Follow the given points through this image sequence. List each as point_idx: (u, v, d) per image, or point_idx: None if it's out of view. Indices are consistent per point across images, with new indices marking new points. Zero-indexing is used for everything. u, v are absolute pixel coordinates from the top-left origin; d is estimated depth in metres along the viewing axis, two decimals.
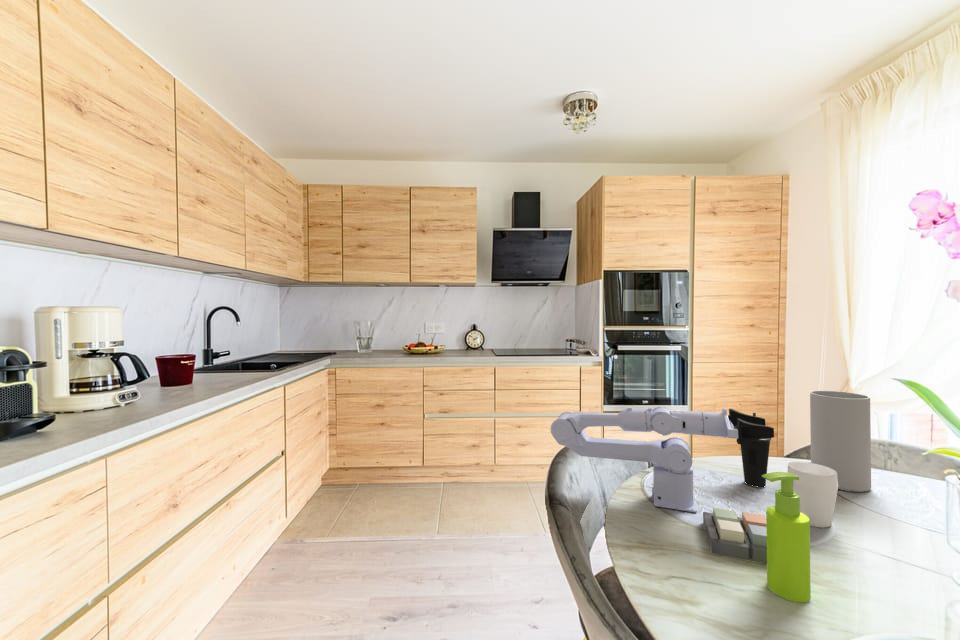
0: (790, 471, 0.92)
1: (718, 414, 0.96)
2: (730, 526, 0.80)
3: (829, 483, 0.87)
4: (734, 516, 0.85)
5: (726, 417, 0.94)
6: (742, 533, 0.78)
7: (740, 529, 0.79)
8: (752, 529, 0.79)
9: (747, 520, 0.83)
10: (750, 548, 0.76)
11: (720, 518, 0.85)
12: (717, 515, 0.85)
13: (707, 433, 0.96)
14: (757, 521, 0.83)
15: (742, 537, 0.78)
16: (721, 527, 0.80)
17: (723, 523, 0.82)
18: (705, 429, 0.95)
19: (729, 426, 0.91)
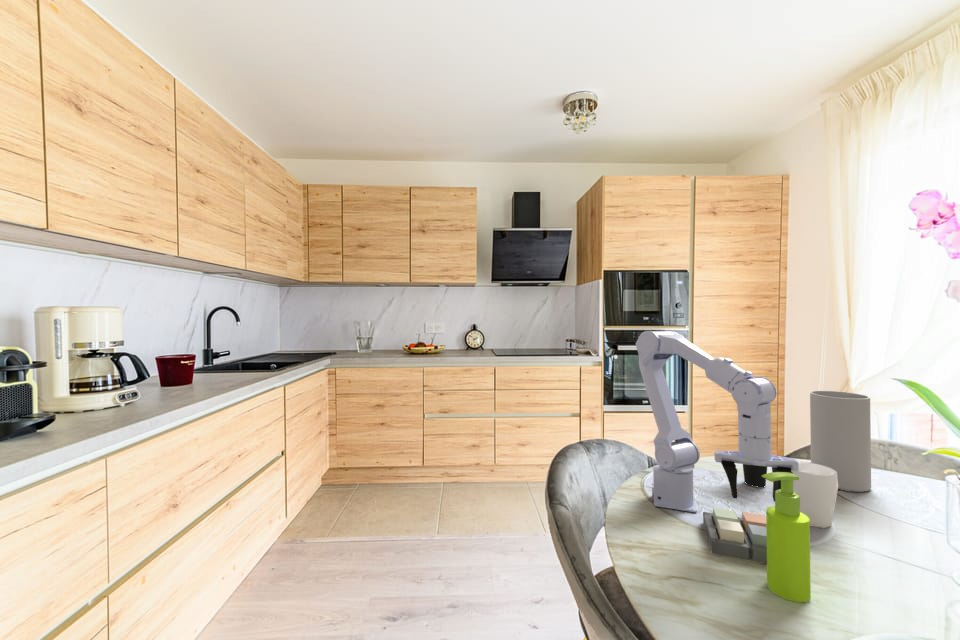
0: None
1: (752, 454, 0.82)
2: (730, 526, 0.80)
3: (829, 483, 0.87)
4: (734, 516, 0.85)
5: (744, 460, 0.83)
6: (742, 533, 0.78)
7: (740, 529, 0.79)
8: (752, 529, 0.79)
9: (747, 520, 0.83)
10: (750, 548, 0.76)
11: (720, 518, 0.85)
12: (717, 515, 0.85)
13: None
14: (757, 521, 0.83)
15: (742, 537, 0.78)
16: (721, 527, 0.80)
17: (723, 523, 0.82)
18: (738, 434, 0.86)
19: (724, 456, 0.85)
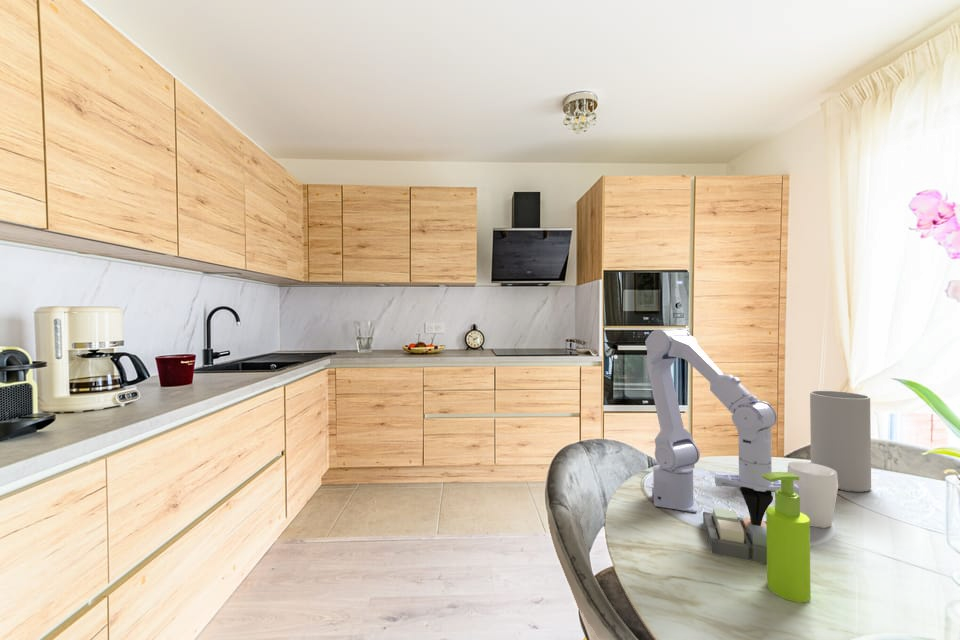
0: (790, 471, 0.92)
1: (753, 479, 0.82)
2: (730, 526, 0.80)
3: (829, 483, 0.87)
4: (734, 516, 0.85)
5: (744, 485, 0.83)
6: (742, 533, 0.78)
7: (740, 529, 0.79)
8: (752, 529, 0.79)
9: (747, 526, 0.83)
10: (750, 548, 0.76)
11: (720, 518, 0.85)
12: (717, 515, 0.85)
13: None
14: None
15: (742, 537, 0.78)
16: (721, 527, 0.80)
17: (723, 523, 0.82)
18: None
19: (725, 481, 0.85)
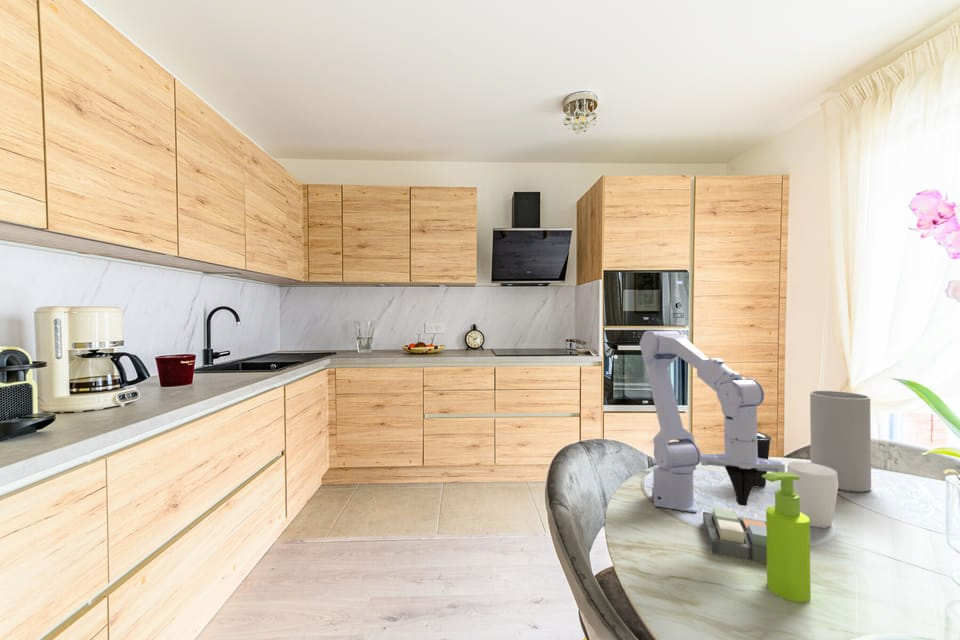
0: (790, 471, 0.92)
1: (738, 457, 0.80)
2: (730, 526, 0.80)
3: (829, 483, 0.87)
4: (734, 516, 0.85)
5: (730, 463, 0.81)
6: (742, 533, 0.78)
7: (740, 529, 0.79)
8: (752, 529, 0.79)
9: (747, 527, 0.83)
10: (750, 548, 0.76)
11: (720, 518, 0.85)
12: (717, 515, 0.85)
13: None
14: None
15: (742, 537, 0.78)
16: (721, 527, 0.80)
17: (723, 523, 0.82)
18: (724, 436, 0.84)
19: (710, 460, 0.83)
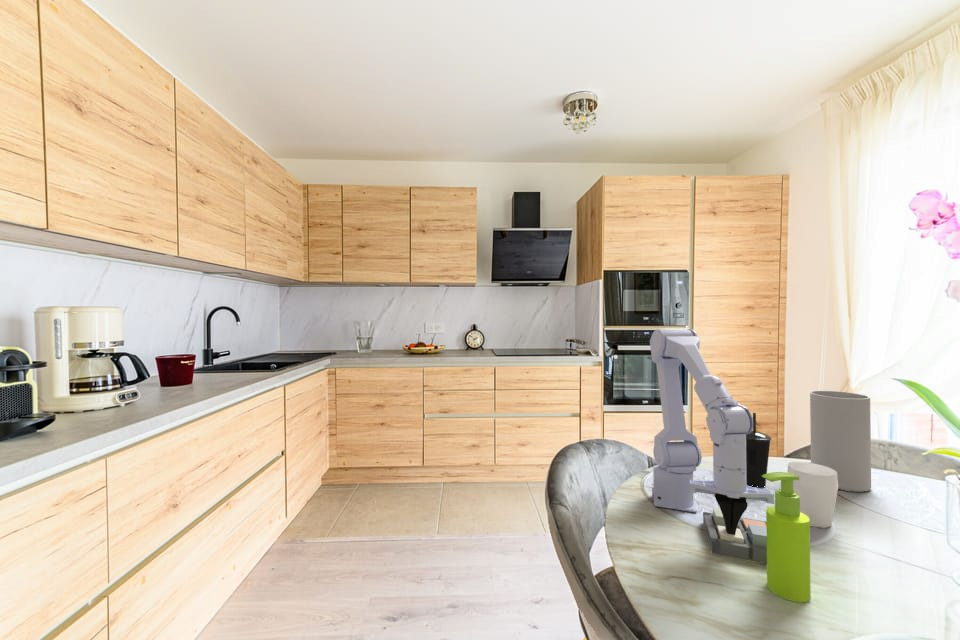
0: (790, 471, 0.92)
1: (727, 486, 0.79)
2: None
3: (829, 483, 0.87)
4: None
5: (718, 491, 0.80)
6: (742, 539, 0.78)
7: (740, 535, 0.79)
8: (752, 529, 0.79)
9: (747, 527, 0.83)
10: (750, 548, 0.76)
11: (720, 518, 0.85)
12: (717, 515, 0.85)
13: None
14: None
15: None
16: (721, 533, 0.80)
17: (723, 529, 0.82)
18: (713, 463, 0.83)
19: (699, 487, 0.82)
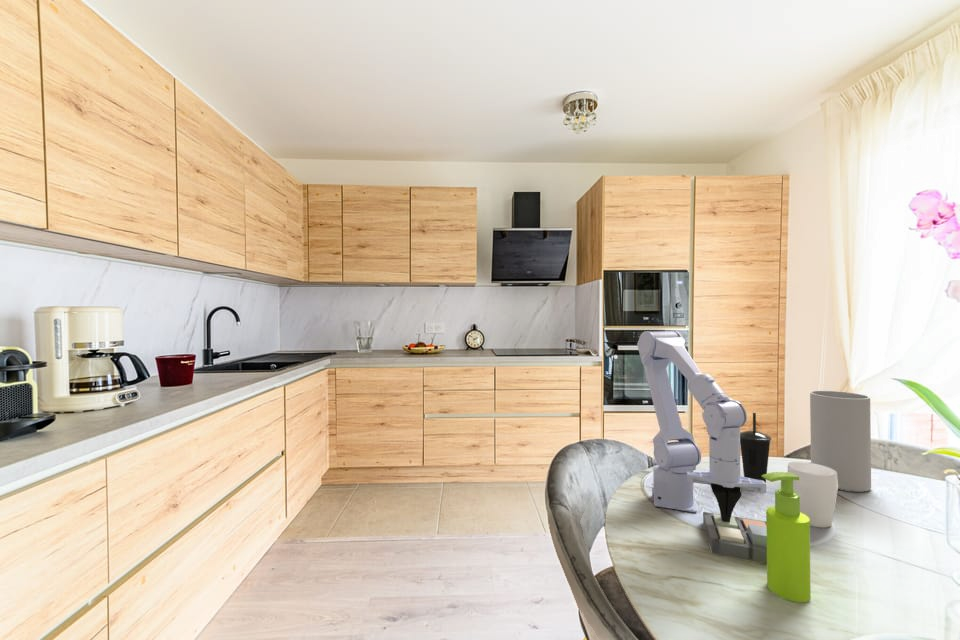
0: (790, 471, 0.92)
1: (722, 476, 0.84)
2: (730, 533, 0.80)
3: (829, 483, 0.87)
4: (734, 522, 0.85)
5: (714, 481, 0.85)
6: (742, 540, 0.78)
7: (740, 536, 0.79)
8: (752, 529, 0.79)
9: (747, 527, 0.83)
10: (750, 548, 0.76)
11: (720, 524, 0.85)
12: (717, 521, 0.85)
13: None
14: None
15: None
16: (721, 534, 0.80)
17: (723, 530, 0.82)
18: (709, 456, 0.88)
19: (696, 478, 0.87)
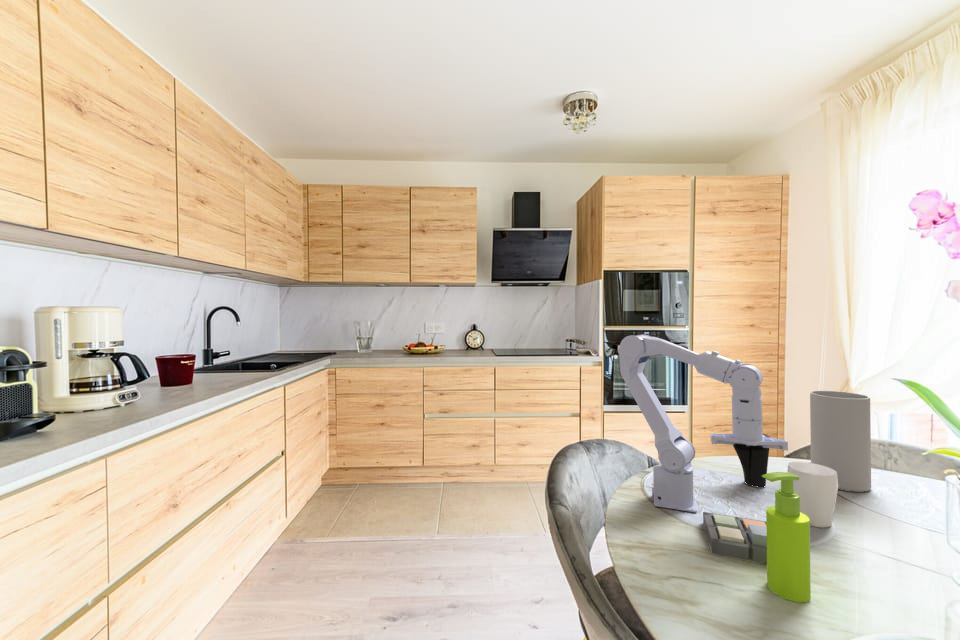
0: (790, 471, 0.92)
1: (745, 435, 0.88)
2: (730, 533, 0.80)
3: (829, 483, 0.87)
4: (734, 522, 0.85)
5: (738, 441, 0.89)
6: (742, 540, 0.78)
7: (740, 536, 0.79)
8: (752, 529, 0.79)
9: (747, 527, 0.83)
10: (750, 548, 0.76)
11: (720, 525, 0.85)
12: (717, 521, 0.85)
13: None
14: None
15: None
16: (721, 534, 0.80)
17: (723, 530, 0.82)
18: (732, 417, 0.92)
19: (720, 438, 0.91)
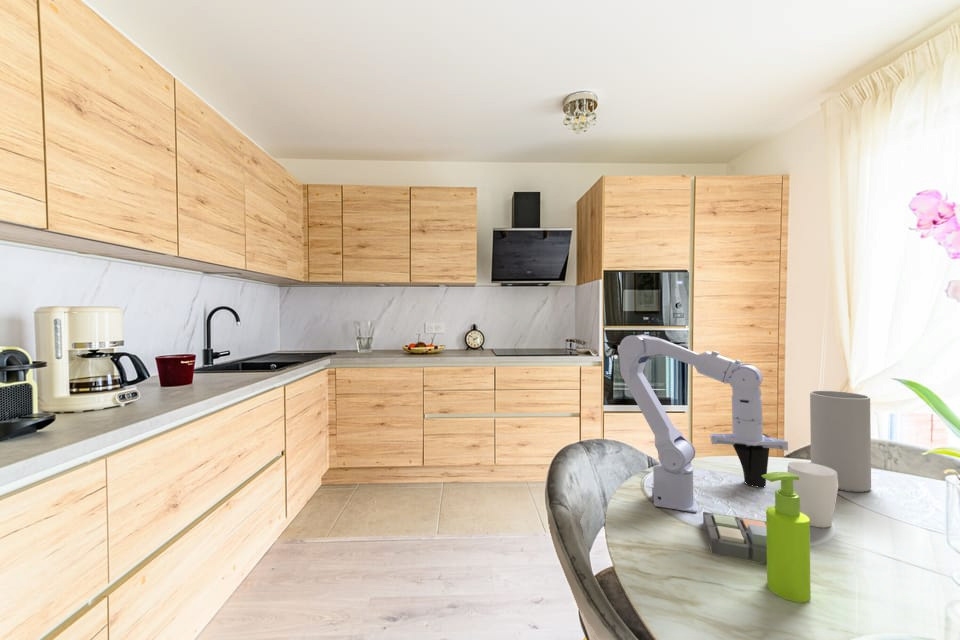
0: (790, 471, 0.92)
1: (745, 435, 0.88)
2: (730, 533, 0.80)
3: (829, 483, 0.87)
4: (734, 522, 0.85)
5: (738, 441, 0.89)
6: (742, 540, 0.78)
7: (740, 536, 0.79)
8: (752, 529, 0.79)
9: (747, 527, 0.83)
10: (750, 548, 0.76)
11: (720, 525, 0.85)
12: (717, 521, 0.85)
13: None
14: None
15: None
16: (721, 534, 0.80)
17: (723, 530, 0.82)
18: (732, 417, 0.92)
19: (720, 438, 0.91)
